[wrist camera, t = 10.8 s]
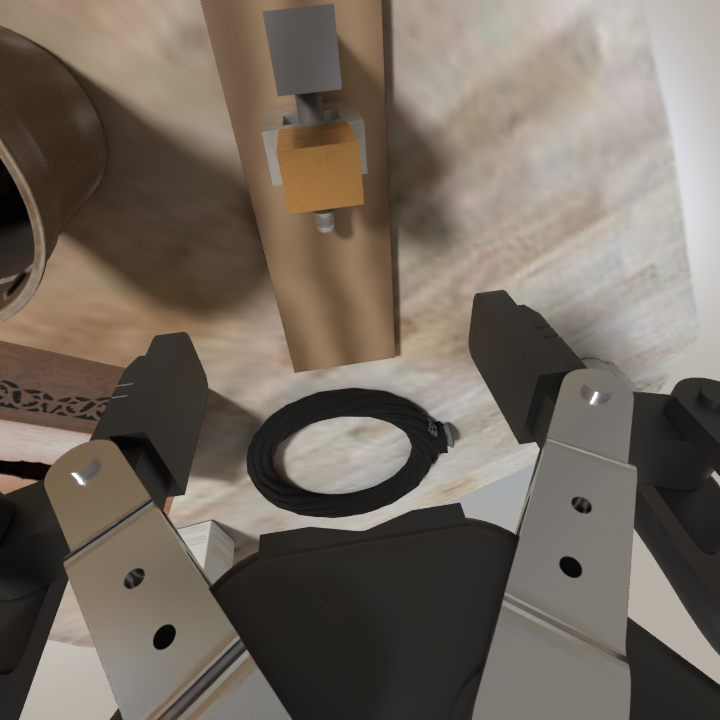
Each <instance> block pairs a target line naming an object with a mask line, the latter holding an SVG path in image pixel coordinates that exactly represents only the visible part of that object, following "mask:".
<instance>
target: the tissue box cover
mask: <svg viewBox="0 0 720 720" xmlns="http://www.w3.org/2000/svg"><path fill="white" fill-rule="evenodd" d="M125 369H126V368H122V367H117V366H113V365H108V364H104V363H99V362H95V361H90V360H86V359H81V358H76V357H72V356H67V355H63V354H58V353H54V352H49V351H45V350H40V349H36V348H31V347H27V346H22V345H17V344H13V343H8V342H4V341H0V491H1V492H2V493H3V494H7V493H10V492H12V491H15V490H17V489H20V488H23V487H25V486H28V485H30V484H33V483H36V482H38V481H41V480H43V479H45V477H46V474H47V472H48V470H49V469H50V467H51V466H52V465H53V464H54V463H55V461H56V460H57V459H59V458H60V457H61V456H62V455H63V454H65V453H66V452H67V451H69V450H71V449H72V448H74V447H76V446H78V445H80V444H83V443H85V442H89V440H90V438H91V436H92V434H93V432H94V430H95V428H96V426H97V424H98V422H99V420H100V418H101V416H102V414H103V412H104V410H105V408H106V406H107V404H108V402H109V400H111V399H112V397H111V396H112V394H113V392H114V390H115V388H116V387H118V386H117V384H118V382H119V380H120V378H121V376H122V374H123V372H124V370H125ZM173 498H174V496H173V497H167V499H166V503H165V507H164V511H165V513H166V514H167V516H168V514H169V511H170V508H171V504H172V501H173Z"/></svg>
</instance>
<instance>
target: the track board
mask: <svg viewBox="0 0 720 720" xmlns="http://www.w3.org/2000/svg"><path fill="white" fill-rule="evenodd" d="M200 1H201V5H202V8H203V12H204V16H205V20H206V24H207V28H208V32H209V36H210V40H211V44H212V48H213V52H214V56H215V60H216V64H217V68H218V72H219V76H220V80H221V84H222V87H223V91H224V95H225V99H226V103H227V107H228V111H229V115H230V119H231V123H232V127H233V131H234V135H235V139H236V143H237V147H238V151H239V155H240V159H241V162H242V166H243V170H244V174H245V178H246V182H247V186H248V190H249V194H250V198H251V202H252V206H253V210H254V214H255V218H256V222H257V226H258V230H259V234H260V238H261V241H262V245H263V249H264V253H265V257H266V261H267V265H268V269H269V273H270V277H271V281H272V285H273V289H274V293H275V297H276V301H277V305H278V309H279V313H280V316H281V320H282V324H283V328H284V332H285V336H286V340H287V344H288V348H289V352H290V356H291V360H292V364H293V368H294V372H295V373H296V372H303V371H309V370H316V369H323V368H329V367H336V366H342V365H349V364H355V363H362V362H369V361H375V360H382V359H388V358H395V340H394V314H393V288H392V263H391V237H390V211H389V185H388V159H387V133H386V107H385V81H384V55H383V29H382V3H381V0H200ZM342 99H347V100H348V101H349V102H350V103H351V104H352V106H353V107H354V108H355V109H356V111H357V112H358V113H359V114H360V115H361V117H362V118H363V119H364V130H365V145H366V159H367V173H368V174H362V184H363V197H364V204H362V205H355V206H347V207H340V208H332V209H325V210H317V211H310V212H302V213H295V214H289V213H288V208H287V203H286V198H285V193H284V188H283V185H275V186H273V183H272V178H271V174H270V169H269V164H268V160H267V155H266V150H265V146H264V141H263V136H262V129H263V125H264V122H265V118H266V115H267V111H268V108H276V107H284V106H292V105H296V106H297V112H298V118H299V124H300V123H308V122H316V121H324V117H323V109H322V102H326V101H334V100H342ZM331 212H333V213H334V221H335V227H334V229H333V231H332V232H331V233H329V234H323V233H321V232H319V231H318V229H317V227H316V222H315V215H314V213H316V214H327V213H331Z"/></svg>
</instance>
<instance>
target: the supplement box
mask: <svg viewBox="0 0 720 720" xmlns="http://www.w3.org/2000/svg"><path fill="white" fill-rule="evenodd" d="M177 531H178V532H179V534H180V535H181V537H182V538H183V540H184V541H185V543H186V544H187V546H188V547H189V549H190V550H191V552H192V553H193V555H194V556H195V558H196V559H197V561H198V562H199V564H200V565H201V567H202V568H203V570H204V571H205V573H206V574H207V575H208V577H209V578H210V580H211V581H212V583H213V584H214V583H215V582H216V581H217V580H218V579H219V578H220V577H221V576H222V575H223V574H224V573H225V572H227V571H228V570H229V569H230V568H232V566H233V556H234V547H235V542H234V541H233V540H232V539H231V538H230V537H229V536H228V535H227V534H226V533H225V532H224V531H223V530H222V529H220V528H219V527H218V526H217V525H216V524H215V523H214V522H213V521H212V520H211V521H207V522H204V523H200V524H196V525H192V526H188V527H185V528H181V529H177Z"/></svg>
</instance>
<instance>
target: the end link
mask: <svg viewBox="0 0 720 720" xmlns="http://www.w3.org/2000/svg"><path fill="white" fill-rule="evenodd" d="M322 109H323V117H324V121H316V122H308V123H300V124H299V118H298V112H297V106H296V105H292V106H284V107H276V108H268V111H267V115H266V118H265V122H264V125H263V129H262V136H263V141H264V146H265V150H266V155H267V160H268V164H269V169H270V174H271V178H272V183H273V186H275V185H283V188H284V193H285V198H286V203H287V208H288V213H289V214H295V213H302V212H310V211H317V210H325V209H332V208H340V207H347V206H355V205H362V204H364V197H363V184H362V174H368V173H367V159H366V145H365V130H364V119H363V118H362V117H361V115H360V114H359V113H358V112H357V111H356V109H355V108H354V107H353V106H352V104H351V103H350V102H349V101H348V100H347V99H342V100H334V101H326V102H322ZM314 215H315V222H316V227H317V229H318V231H319V232H321V233H323V234H329V233H331V232H332V231H333V229H334V227H335V221H334V213H333V212H331V213H327V214H316V213H314Z"/></svg>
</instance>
